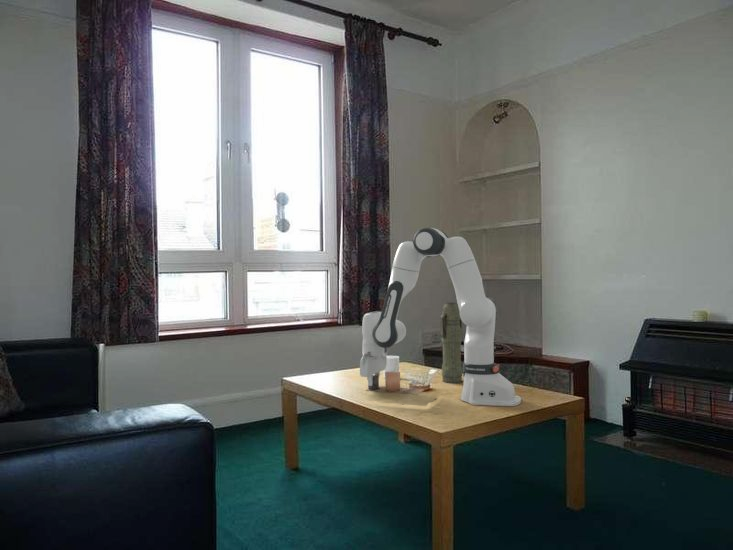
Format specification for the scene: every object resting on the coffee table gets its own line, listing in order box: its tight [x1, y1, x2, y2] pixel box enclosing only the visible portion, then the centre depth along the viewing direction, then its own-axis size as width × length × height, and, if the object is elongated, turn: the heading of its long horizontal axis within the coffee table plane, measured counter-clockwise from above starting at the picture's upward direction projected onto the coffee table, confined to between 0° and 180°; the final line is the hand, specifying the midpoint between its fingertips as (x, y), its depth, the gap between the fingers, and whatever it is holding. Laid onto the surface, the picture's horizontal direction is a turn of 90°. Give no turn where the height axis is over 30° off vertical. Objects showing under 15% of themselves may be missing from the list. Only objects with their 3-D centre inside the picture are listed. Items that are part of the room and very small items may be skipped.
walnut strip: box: [365, 374, 425, 395], centre depth 228 cm, size 22×10×6 cm, turn 66°
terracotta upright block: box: [384, 371, 401, 391], centre depth 228 cm, size 6×6×7 cm
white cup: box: [382, 355, 400, 380], centre depth 260 cm, size 8×8×10 cm
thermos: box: [439, 302, 463, 384], centre depth 251 cm, size 9×12×35 cm
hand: (373, 384), depth 232 cm, fingers closed on walnut strip, 4 cm apart
